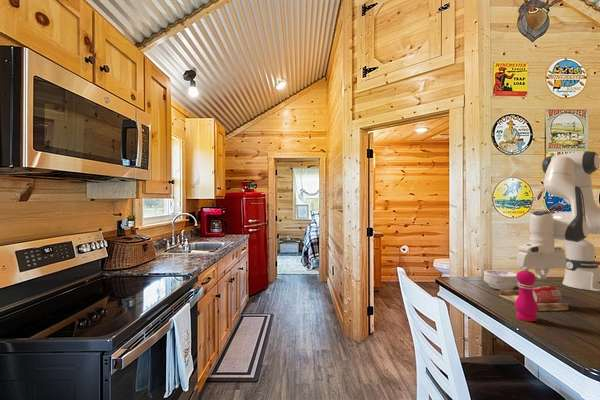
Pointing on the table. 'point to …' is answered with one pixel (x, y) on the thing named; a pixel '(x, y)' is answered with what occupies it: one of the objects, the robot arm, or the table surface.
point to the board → (514, 294)
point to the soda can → (546, 294)
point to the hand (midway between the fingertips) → (541, 278)
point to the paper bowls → (501, 279)
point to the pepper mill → (526, 296)
